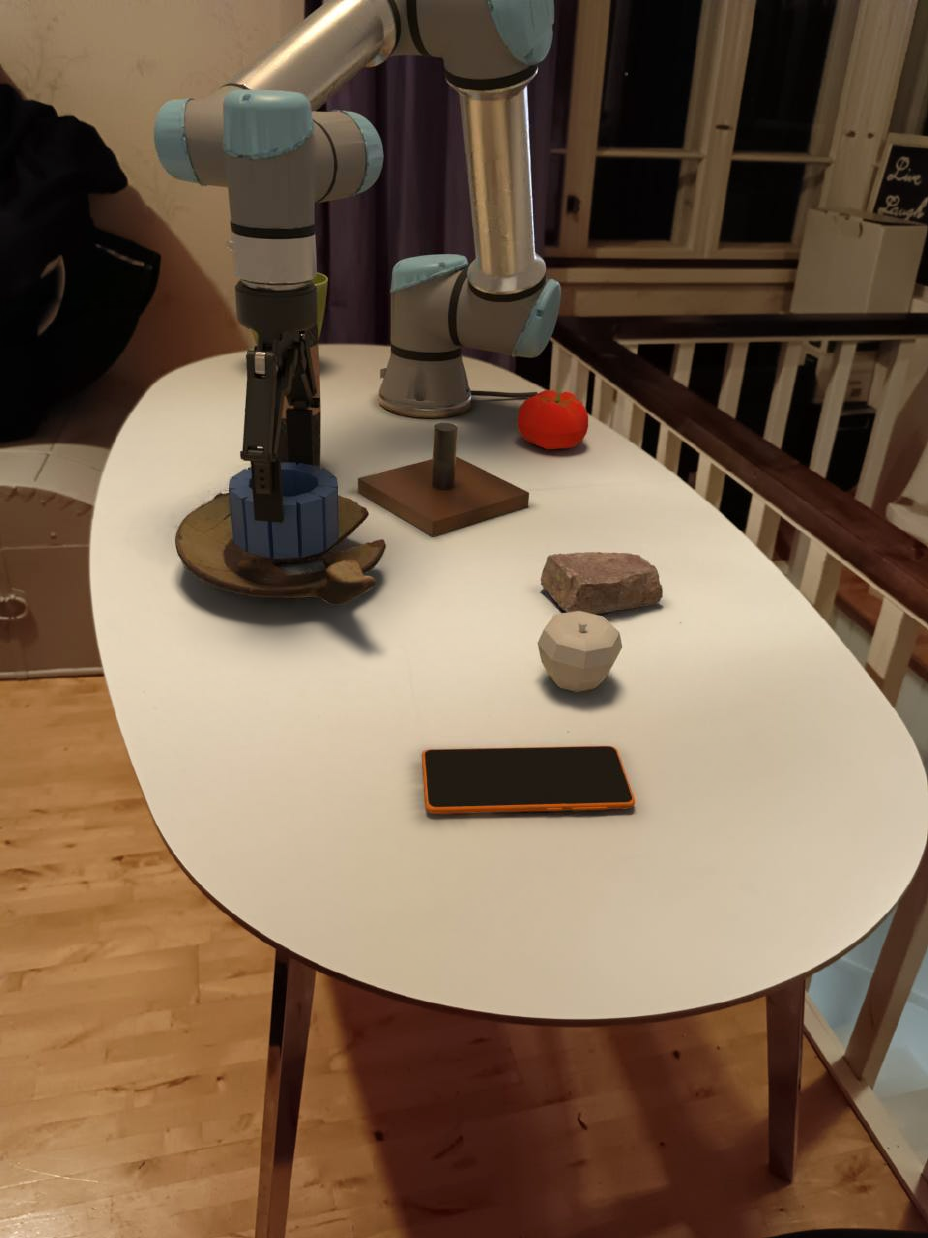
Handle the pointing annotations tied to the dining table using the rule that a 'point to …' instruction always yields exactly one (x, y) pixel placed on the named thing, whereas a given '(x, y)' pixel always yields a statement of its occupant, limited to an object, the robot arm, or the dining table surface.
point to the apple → (579, 649)
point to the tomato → (553, 420)
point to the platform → (443, 489)
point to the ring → (288, 513)
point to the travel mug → (283, 442)
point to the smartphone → (525, 779)
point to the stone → (601, 581)
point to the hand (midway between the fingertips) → (286, 492)
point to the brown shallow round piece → (232, 569)
